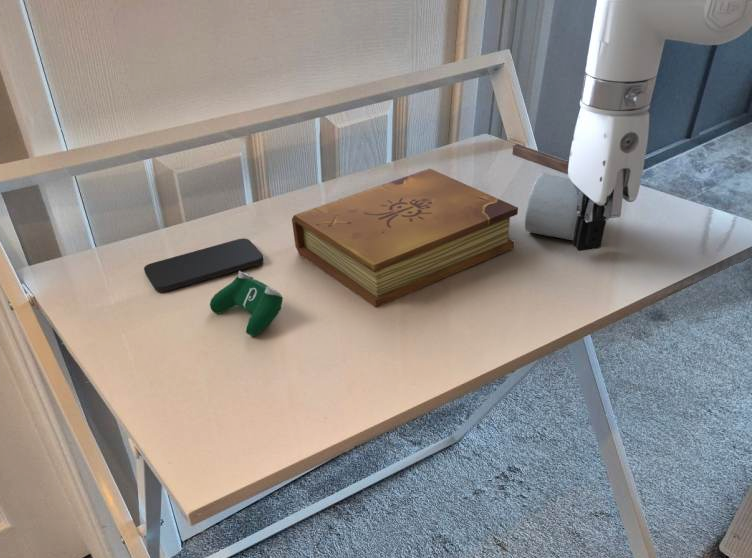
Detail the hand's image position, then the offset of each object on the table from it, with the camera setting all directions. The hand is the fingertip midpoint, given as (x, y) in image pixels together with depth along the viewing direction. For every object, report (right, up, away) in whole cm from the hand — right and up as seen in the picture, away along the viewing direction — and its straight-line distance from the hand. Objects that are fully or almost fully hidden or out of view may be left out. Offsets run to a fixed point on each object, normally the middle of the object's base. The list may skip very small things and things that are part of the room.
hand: (586, 246), depth 88 cm
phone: (-50, -2, +4) cm, 50 cm away
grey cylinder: (-2, +4, +7) cm, 8 cm away
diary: (-23, +1, +5) cm, 24 cm away
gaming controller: (-42, -10, -6) cm, 44 cm away
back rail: (+1, +21, +25) cm, 32 cm away
